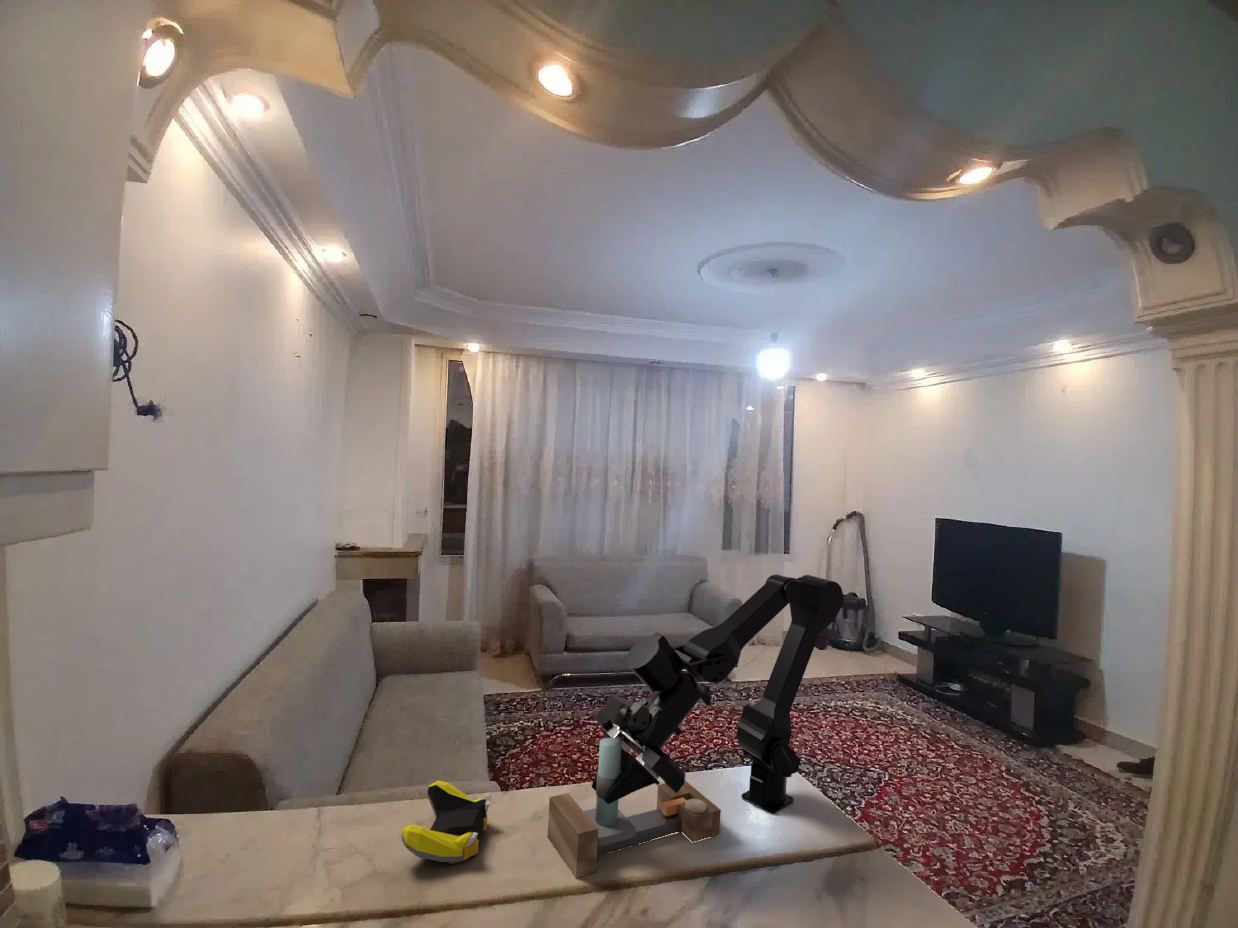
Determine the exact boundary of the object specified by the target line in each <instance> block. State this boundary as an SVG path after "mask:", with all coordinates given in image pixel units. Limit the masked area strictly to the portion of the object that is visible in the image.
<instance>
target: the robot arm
mask: <svg viewBox="0 0 1238 928" xmlns="http://www.w3.org/2000/svg"><path fill="white" fill-rule="evenodd" d="M844 600H845V595H844V593H843V590H842V586H841V585H840V583H838V582H836V581H833V580H831V579H830V580H829V579H825V578H822V577H818V576H814V575H811V574H805V575H802V576H800V577H798V578H796V577H790V576H784V575H781V574H773V575H770V576H768V578H767V579H766V581H765V583H764V584H763V585H762V586H761V587H760V588H759V589H758V590H756V591H755V593H754V594H753V595H751V596H750V597H749V598H748V599H747V600H746V601H745V602H744V603H743V604H742V605H740V606H739V607H738V608H737V609H736V610H735V611H734V612H733V613H731V615H729V616H728V617H727V618H726V619H725V620H724V621H723V622H722V623H720V624H718V625H717V626H713V627H711V628H707V629H704V630H702V631H701V632H700V633H697V634H696V635H695V636H693V637H691V638H690V639H688V641H686V643H684V644H682V645H677V646H674V647H672V646H671V645H670V643H669V641H668V639H667V638H666V637H665V636H664V635H663V634H661V633H658V632H654V634H653V635H652V636H651V637H647V638H644V639H642V640H641V641H639V642H637V643H634V644H633V646H632V647H631V648H630V650H629V651H628V653H627V656H626V665H627V666H628V668H629V669H630V670H632V672H633V673H634V674H635V675H636V676H637V678H639V680H640V681H641V682H642V683H643V684H644V685H645V686H646V687H647V688H648V690H650V691H652V692H655V693H654V694H653V695H652V697H651V698H650V699H648V698H647V697H643V698H641V699H640V700H639V701H635V702H633V701H631V700H629V699H626V698H624V697H622V696H618V695H617V694H613V693H610V695H609V696H608V699H607V701H606V704H605V706H604V708H602V709H601V710H600V711H599V712H598V713H597V714H596V716H595V717H594V718H593V719H594V720H595V721H596V723H597V724H598V725H599V726H600V727H602V729H604V730H603V731H602V735H603V737H604V739H605V738H614V739H618V740H620V741H621V743H622V747H621V765H620V772H621V773H620V774H619V776H618V777H617V779H616V780H615V781H614V783H613V784H612V786H611V787H610V789H609V790H608V792H607V793H606V795H605V797H604V801H605V802H606V803H607V804H610V803H612V802H614V801H616V800H618V799H619V800H620V799H622V798H624V797H626V796H628V795H630V794H633V793H634V792H637V791H639V790H642V789H645V788H646V787H647V788H648V787H649V786H652V785H656V786H658V785H660V783H661V782H660V781H659V780H658V779H659V778H660V779H662V781H663V782H664V783H665V784H666V785H667V786H669V787H670V788H671V789H672V790H673V791H674V792H675V793H678V791H679V790H680V789H681V787H682V786H683V785H684V783H685V781H686V772H685V771H684V770H683V769H682V768H681V767H680V766H679V765H678V764H677V763H676V762H675V761H674V759H672V758H671V757H670V756H669V755H668V754H667V753H666V752H664V751H663V750H662V749H663V748H664V747H665V745H666V744H667V743H668V741H669V740H670V738H672V736H673V735H675V736H676V737H680V736H681V735H682V733H683V730H682V729H681V728H680V725H682V723H683V722H684V721H685V719H686V718H687V717H688V715H689V714H690V713H691V712H692V710H693V709H694V708H695V706H696V705H697V704H698V702H700V703H702V704H703V705H706V706H707V707H709V706H711V704H712V700H711V695H710V694H711V693H710V691H711V688H710V687H709V686H708V685H707V684H704V683H703V682H700V683H699V681H698V680H696V678H695V677H697V678H698V677H699V678H701V679H702V680H704V681H706V682H708V683H710V684H720V683H722V682H723V681H725V680H726V679H727V678H728V676H729V675H730V674H731V673H732V671H733V670H734V669H735V667H736V666H737V665H738V664H739V661H740V656H741V653H742V650H743V649H744V648H745V646H746V645H747V644H748V643H749V642H750V641H751V640H752V639H753V638H754V637H755V636H756V635H758V634H759V633H760V632H761V631H762V630H763V629H764V628H765V627H766V626H767V625H768V624H769V623H770V622H771V621H772V620H773V619H774V618H775V617H776V616H778V615H779V613H781V611H782V610H784V609H785V608H786V607H787V606H788V605H789V611H790V617H791V618H790V619H791V622H790V625H789V628H788V629H787V632H786V634H785V637H784V640H783V642H782V645H781V647H780V649H779V652H778V656H777V657H776V660H775V664H774V666H773V668H772V671H771V673H770V676H769V679H768V681H767V683H766V686H765V688H764V691H763V694H762V696H761V698H760V700H758V701H757V702H756V703H754V704H753V705H750V704H749V703H746V704H745V705H744V707H743V709H742V712H741V716H740V718H739V720H738V721H737V723H736V724H735V726H736V727H737V729H736V734H735V735H736V736H735V738H736V740H737V743H738V745H739V747H740V748H741V752H742V755H743V756H744V757H746V758H748V759H750V760H751V761H752V763H751V764H750V776H749V787H748V788H749V789H748V790H747V791H745V792H743V793H742V794H741V799H743V800H744V801H747V802H749V803H751V804H752V805H755V806H756V807H759V808H761V809H763V810H764V811H766V812H768V813H770V814H776V813H777V812H779V811H781V810H782V809H784V808H786V807H787V806H789V805H790V804H792V803H794V799H795V798H794V797H792V796H790V795H788V794H787V779H788V778H792V775H793V774H796V773H798V771H799V767H800V765H801V758H800V757H799V756H798V755H797V754H796V752H795V751H794V750H793V749H792V748H791V746H790V742H791V737H792V734H793V730H792V723H791V717H790V716H791V715H790V713H791V710H792V706H793V704H794V702H795V699H796V695H797V693H798V691H799V689H800V685H801V683H802V680H803V678H804V674H805V673H806V669H807V667H808V665H809V662H810V659H811V658H812V657H811V656H812V655H813V651H814V649H815V646H816V643H817V640H818V638H819V635H820V633H821V632H822V631H824V630H825V629H826V628H827V627H829V626H830V625H831V624H833V622H834V621H835V620H836V618H837V616H838V614H839V613H840V610H841V608H843V607H842V606H843V605H844ZM683 670H685V671H686V672H689V673H690V674H689V673H683ZM694 676H695V677H694ZM644 747H645V748H644ZM630 749H631V750H632V751H633V752H635V753H636V754H637V755H636V757H635V756H633V755H632V754H631V753H630V752H629V751H630ZM597 772H598V769H597V770H596V773H595V775H594V778H593V780H592V783H591V789H592V790H594V791H595V792H596V783H597Z"/></svg>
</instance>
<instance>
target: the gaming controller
mask: <svg viewBox="0 0 1238 928" xmlns="http://www.w3.org/2000/svg"><path fill="white" fill-rule="evenodd" d="M426 794H427V795H426V796H427V798H428V801H429V804H430V806H431V809H432V812H433V814H434V817H435V820H434V822H433V823H432V826H431V827H430V829H429V828H426V827H424V826H421V825H417V824H410V825H408V826H407V825H406V826H405V827H404V828H403V829H402V832H401V841H402V843H403V845H404V847H405V848H406V849H407V850H408V851H409V852H410V853H412V854H414V856H416V857H418V858H419V859H425V860H431V861H437V862H440V863H441V862H442V863H444V862H445V863H448V864H450V865H455V864H459V863H460V862H464V861H466V860H468V859H470V858H471V857H472V856H475V855H476V854H478V853H479V844H480V841H481V838H482V836H483V834H484V832H485V831H486V830H488V814H487V813H488V809H489V807H490V806H491V805H490V804H491V801H490V800H488V799H486V798H477V799H472V798H471V797H470V796H468V795H467V794H465V793H464V792H462V790H460V789H458V787H457V788H456V786H454V785H453V784H451V783H449V782H446V781H442V780H436V781H435V782H433V783H431V784H430V785H429V786H428V788H427V792H426Z"/></svg>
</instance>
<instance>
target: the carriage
mask: <svg viewBox="0 0 1238 928" xmlns="http://www.w3.org/2000/svg"><path fill="white" fill-rule="evenodd" d="M598 747H599V749H598V752H599V753H598V764H597V765H598V768H597V770H598V772H597V771H596V773H597V783H596V791H595V795H596V804H595V805H596V806H595V807H594V808H591V809H588V810H587V809H586V810H583V811H584V812H585V813H586V815H587V816H588V817H589V818H590V819H591V821H592V822H593V823H594V824H595V825H596V827H597V828H598V844H597V846H598V847H600V846H604V845H607V844H611V843H615V842H618V841H622V840H626V839H629V838H633V837H636V828H635V827H634V825H633V824H632V823H631V822H630V821H629V820H628V819H627V818H626V817H627V816H625V814H623V813H622V811H621V810H619V800H620V799H618V800H616V801H614V802H612V803H610V804H607V803H606V802H605V801H604V797H605V795H606V793H607V792H608V790H609V789H610V787H611V786H612V784H613V783H614V781H615V780H616V779H617V777H618V776H619V774H620V773H621V772H620V765H621V747H622V743H621V741H620V740H618V739H614V738H605V737H604V738H603V739H601V740H600V741H599V746H598Z"/></svg>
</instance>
